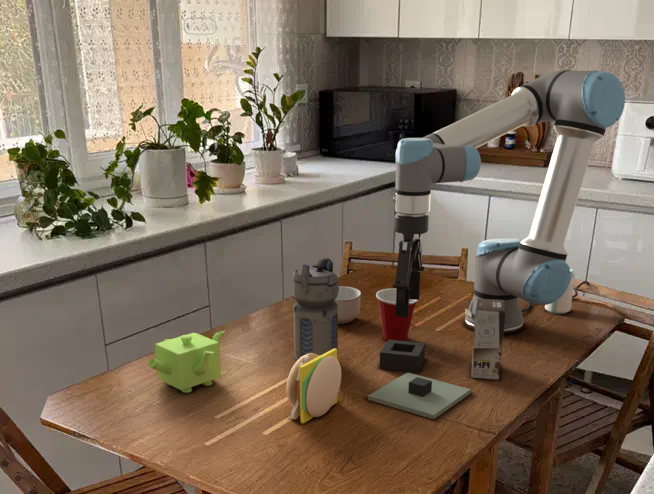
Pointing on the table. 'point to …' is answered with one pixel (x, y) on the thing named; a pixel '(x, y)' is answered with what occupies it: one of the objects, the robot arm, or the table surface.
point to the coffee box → (488, 338)
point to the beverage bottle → (315, 309)
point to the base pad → (419, 395)
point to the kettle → (188, 360)
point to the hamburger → (313, 385)
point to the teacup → (348, 304)
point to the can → (563, 299)
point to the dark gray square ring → (402, 355)
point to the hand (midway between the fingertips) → (407, 307)
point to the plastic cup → (393, 316)
